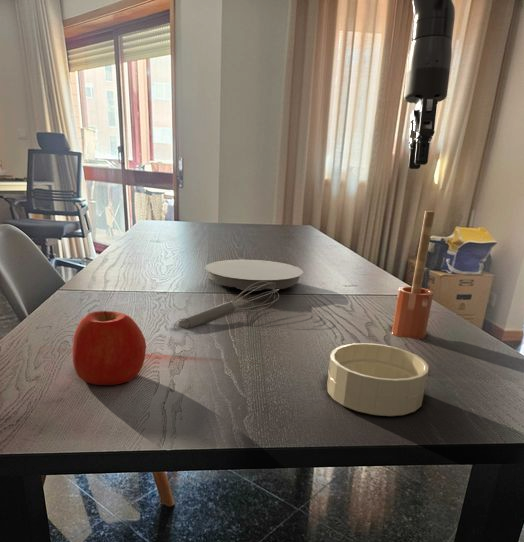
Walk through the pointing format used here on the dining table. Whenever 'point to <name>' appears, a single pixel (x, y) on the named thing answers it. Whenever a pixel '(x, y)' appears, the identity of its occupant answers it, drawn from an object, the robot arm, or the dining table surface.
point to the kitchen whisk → (219, 311)
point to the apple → (108, 348)
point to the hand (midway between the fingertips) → (417, 166)
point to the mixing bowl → (377, 379)
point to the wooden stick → (422, 251)
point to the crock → (412, 313)
